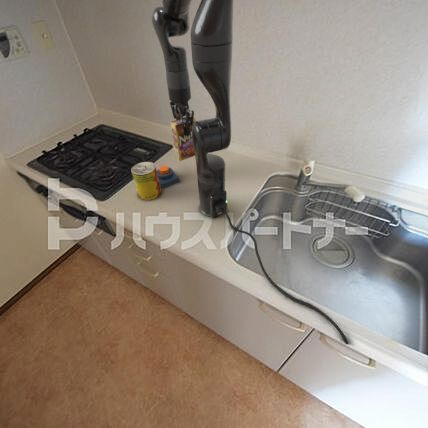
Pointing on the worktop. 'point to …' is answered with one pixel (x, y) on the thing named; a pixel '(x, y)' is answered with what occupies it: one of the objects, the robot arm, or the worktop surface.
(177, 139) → the candy box
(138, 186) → the yellow food can
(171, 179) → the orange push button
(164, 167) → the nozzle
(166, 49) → the robot arm
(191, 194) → the worktop surface
